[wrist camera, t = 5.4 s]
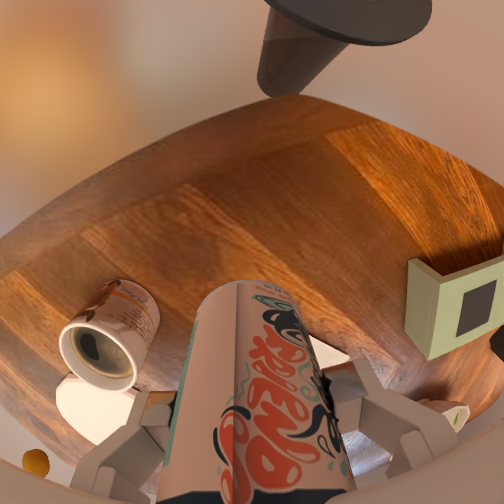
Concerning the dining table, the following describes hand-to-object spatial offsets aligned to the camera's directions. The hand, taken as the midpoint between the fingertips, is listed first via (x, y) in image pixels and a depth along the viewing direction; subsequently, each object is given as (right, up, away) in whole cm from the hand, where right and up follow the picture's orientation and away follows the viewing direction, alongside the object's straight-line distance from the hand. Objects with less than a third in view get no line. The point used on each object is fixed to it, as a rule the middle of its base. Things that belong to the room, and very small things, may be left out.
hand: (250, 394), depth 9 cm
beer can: (0, +2, +4) cm, 5 cm away
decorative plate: (-27, -27, +35) cm, 52 cm away
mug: (-18, -3, +27) cm, 33 cm away
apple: (-68, -60, +45) cm, 101 cm away
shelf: (+34, 0, +28) cm, 44 cm away
